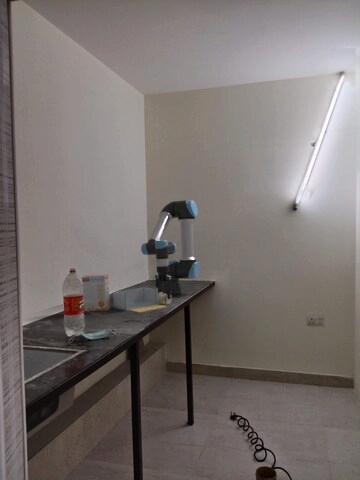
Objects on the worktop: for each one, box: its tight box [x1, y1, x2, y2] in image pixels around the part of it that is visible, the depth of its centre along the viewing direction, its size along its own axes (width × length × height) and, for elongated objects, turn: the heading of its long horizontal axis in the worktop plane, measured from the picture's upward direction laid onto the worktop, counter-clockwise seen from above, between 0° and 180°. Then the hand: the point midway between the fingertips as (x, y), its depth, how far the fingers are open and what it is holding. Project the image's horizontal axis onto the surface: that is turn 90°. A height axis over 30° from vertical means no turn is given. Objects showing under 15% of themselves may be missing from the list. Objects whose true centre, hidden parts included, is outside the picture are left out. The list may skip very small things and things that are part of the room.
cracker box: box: [81, 274, 111, 313], centre depth 225 cm, size 14×6×21 cm, turn 79°
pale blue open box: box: [112, 287, 160, 312], centre depth 230 cm, size 22×15×11 cm
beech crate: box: [158, 293, 173, 305], centre depth 235 cm, size 6×7×6 cm
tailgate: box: [129, 304, 168, 314], centre depth 220 cm, size 19×1×10 cm
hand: (164, 303), depth 235 cm, fingers closed on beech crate, 7 cm apart
